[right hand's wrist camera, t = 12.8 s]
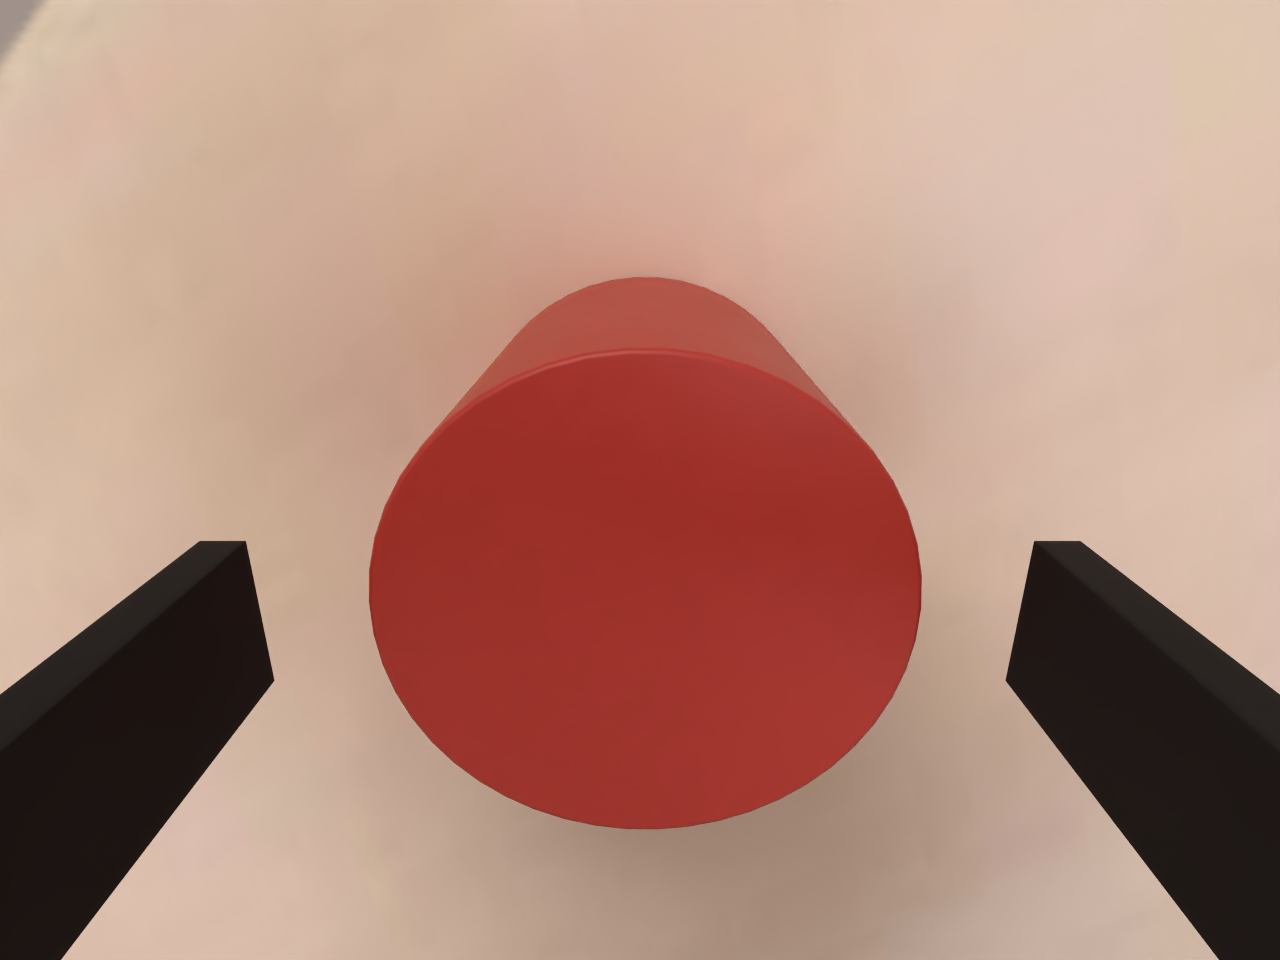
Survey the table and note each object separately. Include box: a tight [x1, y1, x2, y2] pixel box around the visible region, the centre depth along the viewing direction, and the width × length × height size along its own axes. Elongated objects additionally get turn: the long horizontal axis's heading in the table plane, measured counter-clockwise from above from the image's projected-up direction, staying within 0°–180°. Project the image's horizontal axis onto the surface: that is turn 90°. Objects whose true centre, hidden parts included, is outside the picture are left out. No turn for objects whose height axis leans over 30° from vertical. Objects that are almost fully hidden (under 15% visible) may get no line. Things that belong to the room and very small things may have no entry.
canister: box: [369, 277, 922, 829], centre depth 16 cm, size 9×9×9 cm
